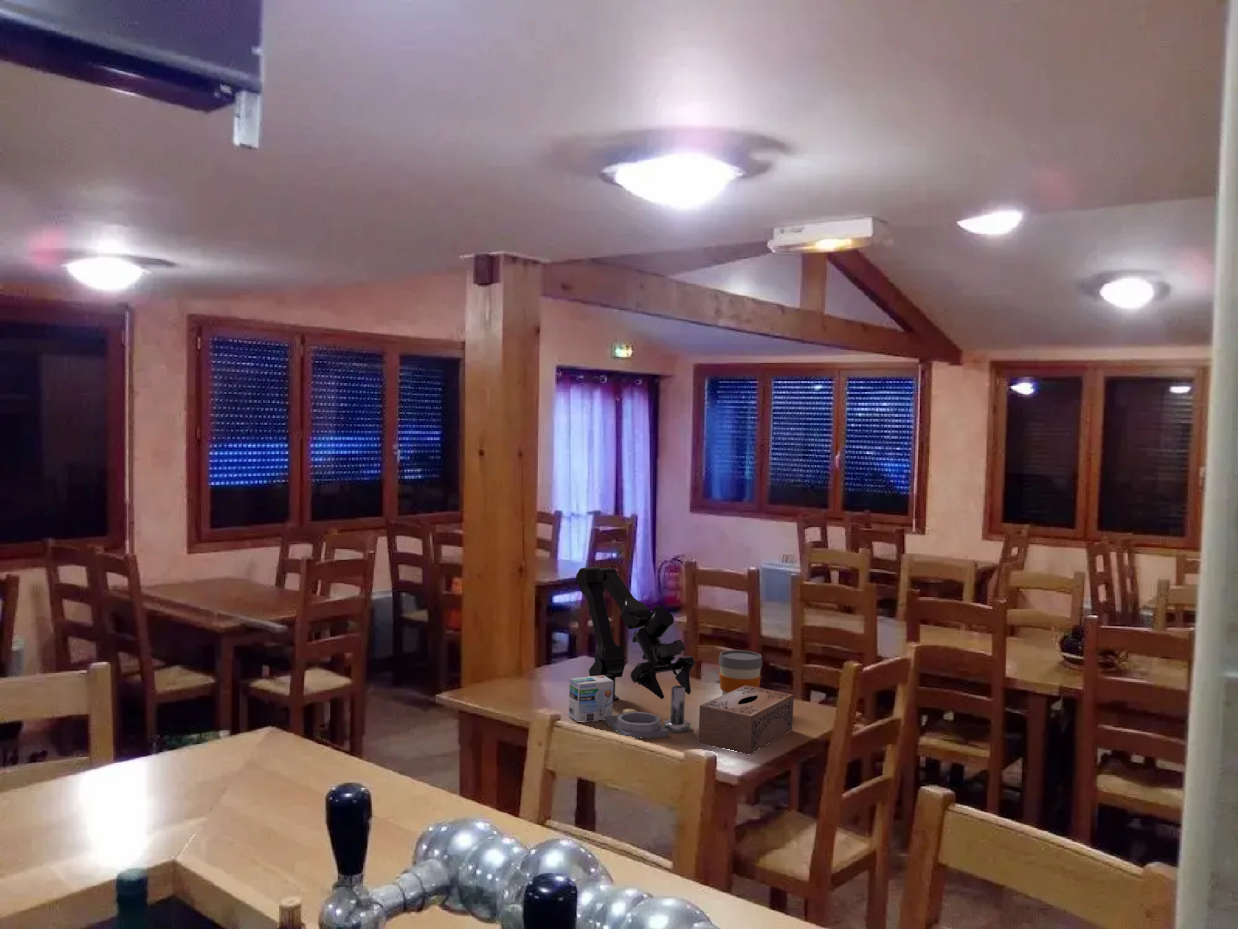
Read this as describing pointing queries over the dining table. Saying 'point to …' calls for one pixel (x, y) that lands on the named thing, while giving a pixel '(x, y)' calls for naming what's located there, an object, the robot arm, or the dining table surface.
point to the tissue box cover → (745, 719)
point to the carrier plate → (634, 734)
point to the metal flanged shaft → (677, 711)
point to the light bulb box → (590, 698)
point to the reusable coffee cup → (739, 669)
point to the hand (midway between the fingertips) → (676, 696)
